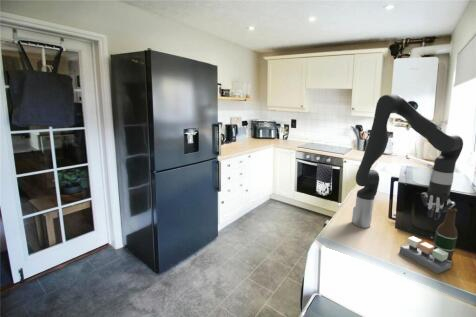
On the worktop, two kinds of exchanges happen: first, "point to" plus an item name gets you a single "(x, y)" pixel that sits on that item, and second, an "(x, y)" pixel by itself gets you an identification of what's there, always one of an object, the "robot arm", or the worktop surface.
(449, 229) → the beer bottle
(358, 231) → the worktop surface
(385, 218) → the worktop surface
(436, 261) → the grey tray
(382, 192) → the worktop surface
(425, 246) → the key terracotta
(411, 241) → the key ivory
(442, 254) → the key sage
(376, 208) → the worktop surface
